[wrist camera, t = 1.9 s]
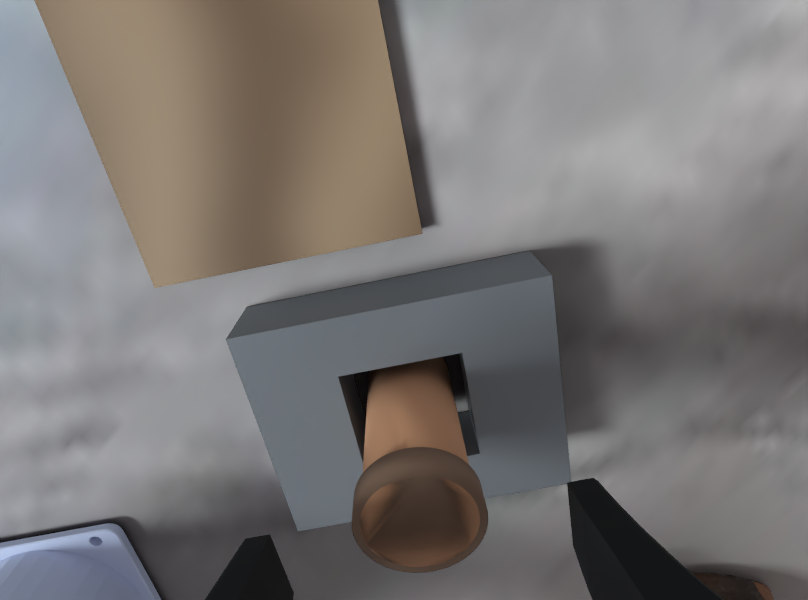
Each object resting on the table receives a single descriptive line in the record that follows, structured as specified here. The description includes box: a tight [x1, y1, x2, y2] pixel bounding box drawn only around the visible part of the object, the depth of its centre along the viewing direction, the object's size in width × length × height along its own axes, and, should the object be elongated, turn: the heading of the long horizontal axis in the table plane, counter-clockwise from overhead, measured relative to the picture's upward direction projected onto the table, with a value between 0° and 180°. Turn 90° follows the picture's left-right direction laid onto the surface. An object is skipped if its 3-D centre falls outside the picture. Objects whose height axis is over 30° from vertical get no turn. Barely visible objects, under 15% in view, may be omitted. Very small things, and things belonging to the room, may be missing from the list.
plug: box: [352, 357, 488, 573], centre depth 16 cm, size 3×3×7 cm
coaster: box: [35, 0, 422, 288], centre depth 15 cm, size 9×9×1 cm
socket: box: [226, 251, 571, 531], centre depth 18 cm, size 10×8×2 cm
